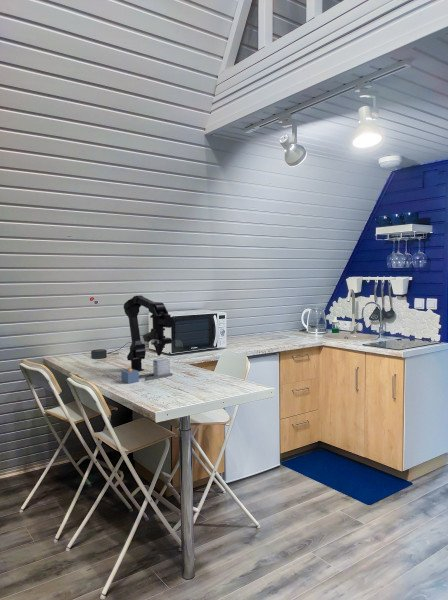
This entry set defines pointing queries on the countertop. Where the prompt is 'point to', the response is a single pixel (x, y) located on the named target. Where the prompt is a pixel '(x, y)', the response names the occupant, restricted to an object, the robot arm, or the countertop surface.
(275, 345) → the countertop surface
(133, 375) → the blue hollow block
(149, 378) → the rails
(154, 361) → the medicine box
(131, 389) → the countertop surface
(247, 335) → the countertop surface
